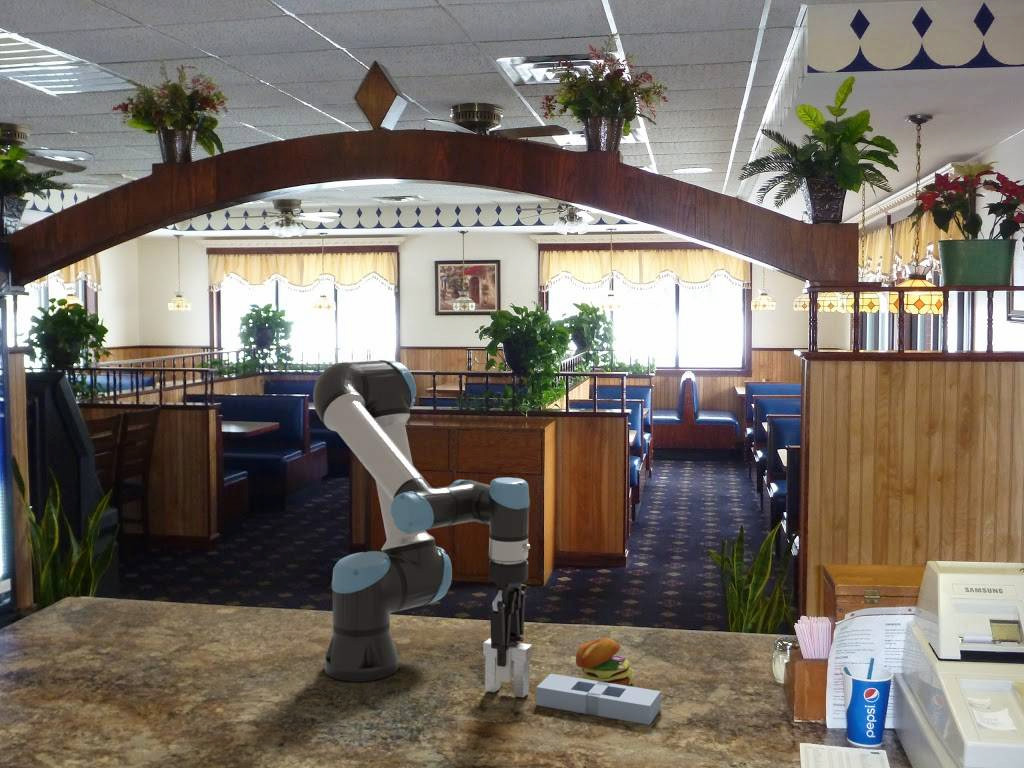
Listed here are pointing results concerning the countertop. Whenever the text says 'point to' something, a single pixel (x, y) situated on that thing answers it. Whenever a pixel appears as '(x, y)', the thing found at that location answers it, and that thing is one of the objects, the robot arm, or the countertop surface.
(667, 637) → the countertop surface
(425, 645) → the countertop surface
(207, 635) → the countertop surface
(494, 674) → the clip
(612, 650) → the cheeseburger
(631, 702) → the rail
